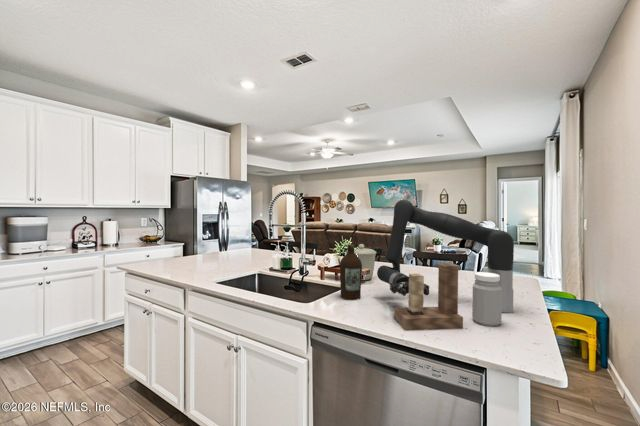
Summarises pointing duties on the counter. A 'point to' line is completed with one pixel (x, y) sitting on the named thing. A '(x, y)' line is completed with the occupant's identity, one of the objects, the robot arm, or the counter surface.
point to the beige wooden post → (416, 293)
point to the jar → (487, 299)
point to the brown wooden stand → (447, 305)
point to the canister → (366, 259)
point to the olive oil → (350, 275)
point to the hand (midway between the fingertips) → (416, 293)
